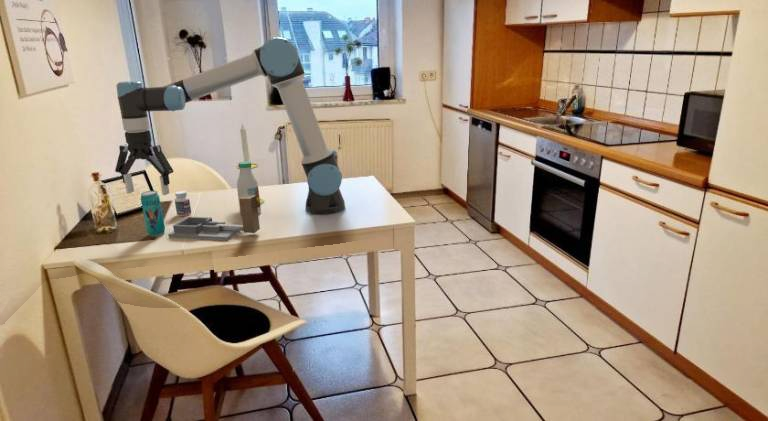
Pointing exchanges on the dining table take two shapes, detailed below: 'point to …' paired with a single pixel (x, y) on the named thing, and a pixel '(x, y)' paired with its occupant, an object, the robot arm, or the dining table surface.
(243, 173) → the milk bottle
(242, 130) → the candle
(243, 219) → the lock pin
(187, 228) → the dock
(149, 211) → the beverage can
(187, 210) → the pill bottle
